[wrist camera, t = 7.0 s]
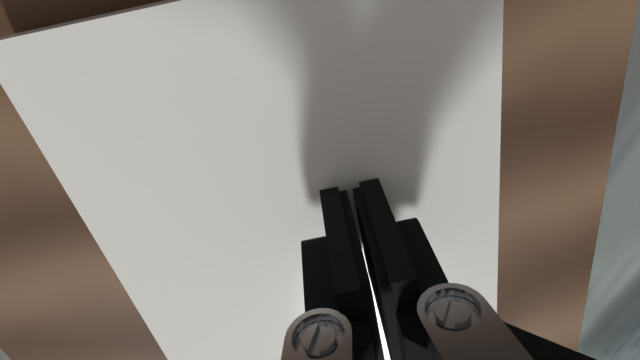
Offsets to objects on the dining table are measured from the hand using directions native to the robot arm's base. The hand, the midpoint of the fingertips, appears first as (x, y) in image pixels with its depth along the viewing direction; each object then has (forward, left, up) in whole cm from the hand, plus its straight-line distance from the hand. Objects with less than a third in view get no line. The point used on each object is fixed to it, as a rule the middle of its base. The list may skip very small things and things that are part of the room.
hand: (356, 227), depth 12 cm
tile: (0, -8, -3) cm, 8 cm away
